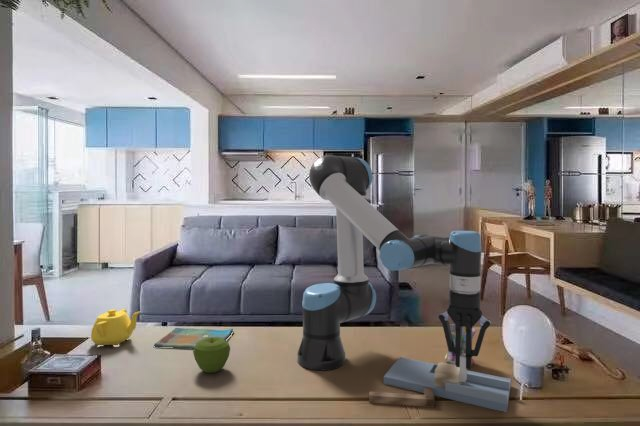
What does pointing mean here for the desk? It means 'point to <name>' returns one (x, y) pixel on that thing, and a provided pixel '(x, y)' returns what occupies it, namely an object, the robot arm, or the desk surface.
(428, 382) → the board
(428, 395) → the crook tool
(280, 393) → the desk surface
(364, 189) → the robot arm
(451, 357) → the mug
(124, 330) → the teapot
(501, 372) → the desk surface
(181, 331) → the colourful book
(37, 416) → the desk surface
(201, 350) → the apple
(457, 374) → the block
